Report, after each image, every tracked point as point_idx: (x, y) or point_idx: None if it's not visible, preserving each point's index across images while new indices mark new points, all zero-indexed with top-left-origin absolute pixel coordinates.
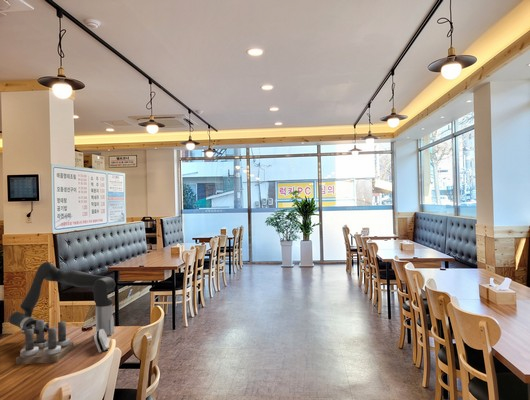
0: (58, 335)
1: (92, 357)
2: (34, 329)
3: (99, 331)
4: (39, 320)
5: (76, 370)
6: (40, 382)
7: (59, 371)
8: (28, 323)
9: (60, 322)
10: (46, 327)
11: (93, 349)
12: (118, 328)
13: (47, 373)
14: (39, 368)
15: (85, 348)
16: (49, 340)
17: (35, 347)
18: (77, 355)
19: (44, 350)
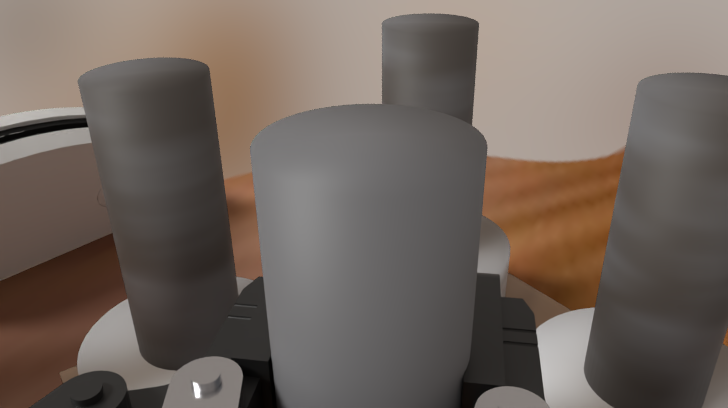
0: (232, 262)
1: (248, 193)
2: (508, 398)
3: (12, 122)
4: (365, 160)
5: None
6: (621, 161)
7: (494, 182)
8: None
9: (161, 75)
10: (216, 342)
11: (99, 268)
12: None
13: (558, 200)
14: (578, 273)
15: (83, 325)
16: None
17: (555, 376)
18: (256, 265)
19: (508, 243)
